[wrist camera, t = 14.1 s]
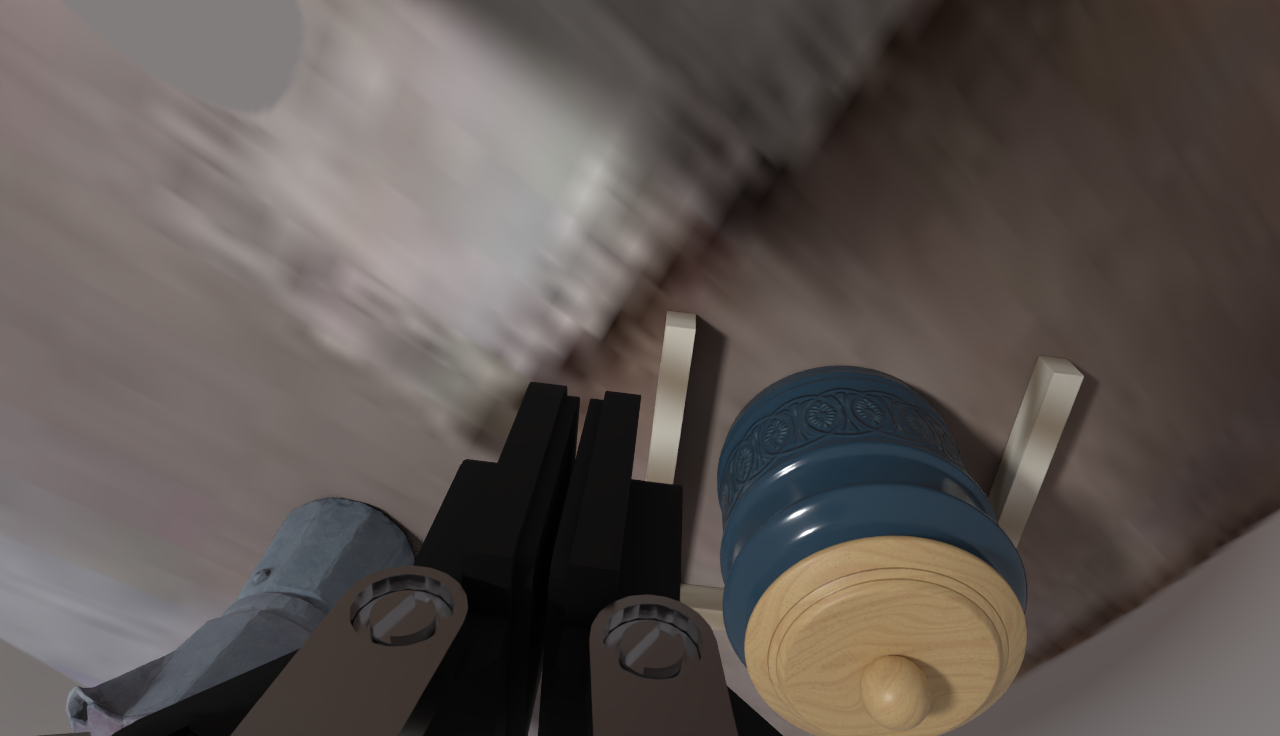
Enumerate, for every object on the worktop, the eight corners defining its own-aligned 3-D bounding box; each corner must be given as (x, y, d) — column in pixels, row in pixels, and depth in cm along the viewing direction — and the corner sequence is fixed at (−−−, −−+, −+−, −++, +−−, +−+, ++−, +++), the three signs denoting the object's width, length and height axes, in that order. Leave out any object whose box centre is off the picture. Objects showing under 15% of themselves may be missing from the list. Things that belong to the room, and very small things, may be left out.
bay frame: (667, 310, 42) (666, 325, 40) (1067, 359, 42) (1084, 376, 40) (630, 595, 51) (628, 618, 49) (962, 637, 51) (972, 661, 49)
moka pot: (299, 433, 47) (56, 716, 29) (496, 588, 51) (389, 919, 33) (211, 521, 50) (-55, 825, 32) (403, 660, 55) (261, 996, 37)
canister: (705, 542, 49) (709, 816, 33) (730, 348, 43) (749, 566, 27) (921, 563, 48) (1030, 849, 33) (975, 369, 43) (1139, 603, 27)
